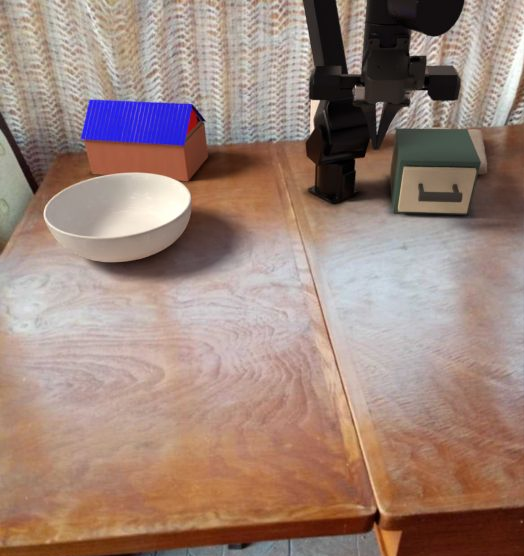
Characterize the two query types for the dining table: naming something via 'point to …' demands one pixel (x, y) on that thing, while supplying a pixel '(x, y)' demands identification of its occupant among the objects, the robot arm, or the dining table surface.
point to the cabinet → (431, 156)
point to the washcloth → (479, 146)
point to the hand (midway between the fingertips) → (375, 148)
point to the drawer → (436, 189)
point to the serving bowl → (119, 216)
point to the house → (144, 138)
